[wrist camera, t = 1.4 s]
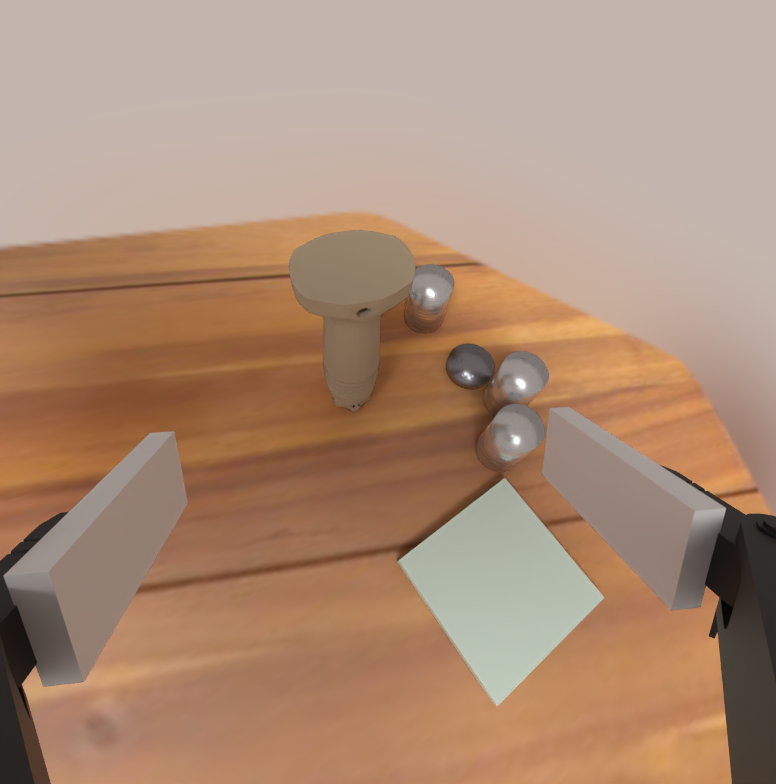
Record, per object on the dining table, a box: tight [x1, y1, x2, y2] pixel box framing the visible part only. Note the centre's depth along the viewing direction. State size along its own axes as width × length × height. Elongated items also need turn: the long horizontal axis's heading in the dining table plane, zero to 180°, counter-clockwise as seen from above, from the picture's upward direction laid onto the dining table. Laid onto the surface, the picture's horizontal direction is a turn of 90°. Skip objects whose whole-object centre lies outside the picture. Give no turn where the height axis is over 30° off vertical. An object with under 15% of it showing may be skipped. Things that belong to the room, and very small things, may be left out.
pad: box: [397, 478, 604, 706], centre depth 29 cm, size 10×10×1 cm
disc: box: [446, 344, 494, 389], centre depth 37 cm, size 4×4×1 cm
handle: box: [289, 230, 415, 411], centre depth 28 cm, size 5×6×15 cm
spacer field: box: [381, 264, 549, 472], centre depth 35 cm, size 21×8×5 cm, turn 36°
